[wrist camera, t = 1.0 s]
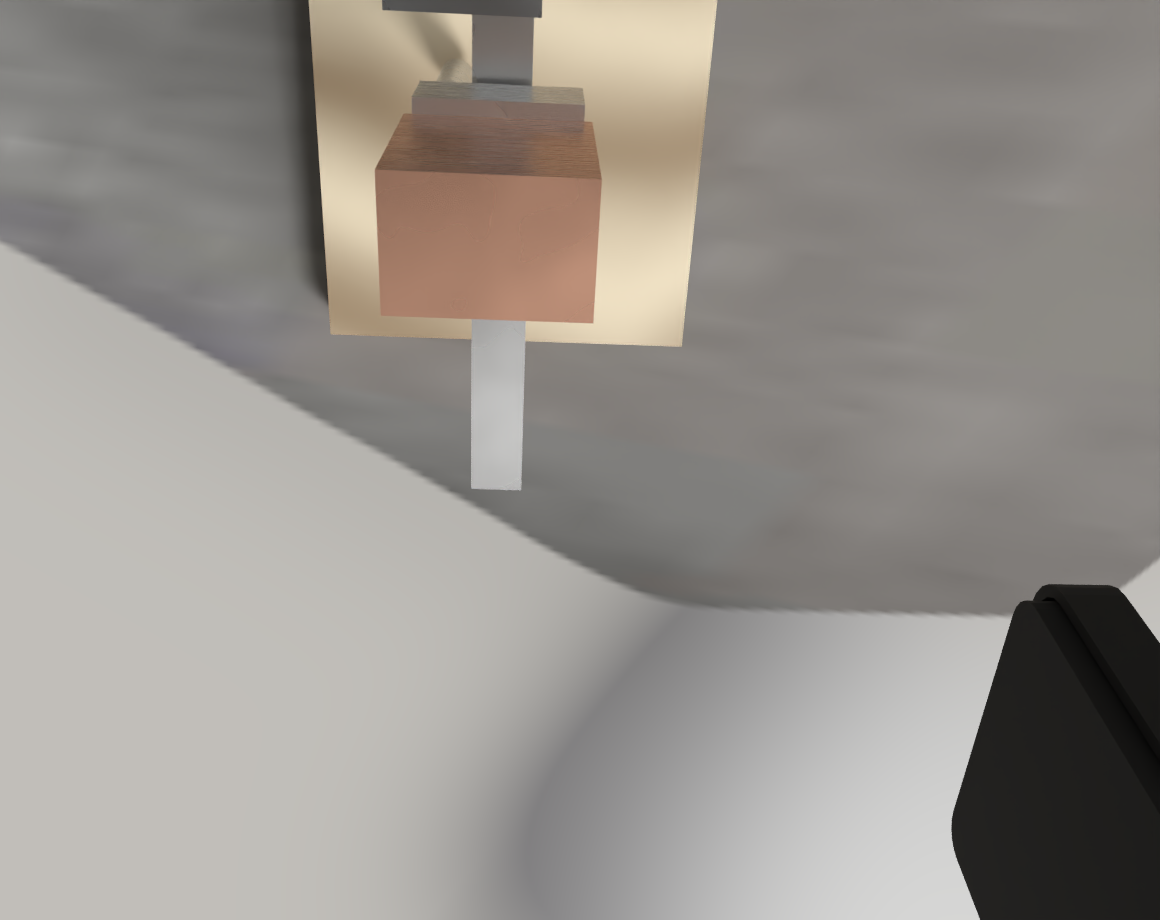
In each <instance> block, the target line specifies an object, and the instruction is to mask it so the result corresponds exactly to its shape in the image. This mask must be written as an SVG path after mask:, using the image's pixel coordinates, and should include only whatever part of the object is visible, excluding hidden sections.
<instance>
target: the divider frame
mask: <svg viewBox="0 0 1160 920" xmlns="http://www.w3.org/2000/svg"><path fill="white" fill-rule="evenodd" d="M382 10H390V11H411V12H431V13H451V14H471V15H472V83H485V84H506V85H528V86H532V83H533V47H534V18H542V0H382ZM525 336H526V321H510V320H482V319H472V381H471V489H500V490H521V477H522V444H523V408H524V372H525Z"/></svg>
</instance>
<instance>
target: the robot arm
mask: <svg viewBox="0 0 1160 920" xmlns="http://www.w3.org/2000/svg"><path fill="white" fill-rule="evenodd" d="M952 841H953V847H954V851H955V854H956V858H957V861H958V863H959V866H960V868H961V871H962V874H963V876H964V879H965V881H966V884H967V887H968V889H969V891H970V894H971V897H972V899H973V902H974V905H975V907H976V910H977V912H978V915H979V918H980V920H1160V643H1159V642H1158V640H1157V639H1156V637H1155V636H1154V635H1153V633H1152V632H1151V630H1150V629H1149V628H1148V626H1147V625H1146V624H1145V622H1144V621H1143V619H1142V618H1141V617H1140V615H1139V614H1138V613H1137V611H1136V610H1135V609H1134V607H1133V606H1132V604H1131V603H1130V602H1129V600H1128V599H1127V597H1126V596H1125V595H1124V594H1123V593H1122V592H1121V591H1120V590H1119V589H1118V588H1116V587H1113V586H1110V585H1062V584H1049V585H1045V586H1042V587H1041V588H1040V589H1039V591H1038V592H1037V593H1036V595H1035V597H1034V599H1033V601H1023V602H1020V603H1019V604H1018V606H1017V607H1016V609H1015V611H1014V614H1013V616H1012V620H1011V623H1010V627H1009V630H1008V633H1007V636H1006V640H1005V643H1004V646H1003V649H1002V653H1001V656H1000V660H999V663H998V666H997V670H996V673H995V676H994V679H993V682H992V686H991V689H990V692H989V696H988V699H987V702H986V706H985V709H984V712H983V716H982V719H981V722H980V726H979V729H978V732H977V735H976V739H975V742H974V745H973V749H972V752H971V755H970V759H969V762H968V765H967V768H966V772H965V775H964V778H963V782H962V785H961V789H960V792H959V795H958V798H957V802H956V805H955V808H954V811H953V816H952Z"/></svg>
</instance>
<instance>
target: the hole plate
mask: <svg viewBox="0 0 1160 920" xmlns="http://www.w3.org/2000/svg"><path fill="white" fill-rule="evenodd" d="M716 7H717V0H542V18H534V47H533V83H532V86H549V87H571V88H583V94H584V101H585V118H584V122H592V123H593V129H594V135H595V141H596V147H597V153H598V159H599V165H600V170H601V176H602V187H601V204H600V221H599V238H598V254H597V271H596V288H595V304H594V321H593V323H565V322H537V321H526V336H525V341H537V342H565V343H594V344H622V345H651V346H679V347H681V346H682V336H683V327H684V317H685V307H686V298H687V288H688V278H689V269H690V259H691V249H692V239H693V230H694V220H695V210H696V201H697V191H698V181H699V172H700V162H701V152H702V143H703V133H704V123H705V113H706V104H707V94H708V84H709V75H710V65H711V55H712V46H713V36H714V26H715V17H716ZM309 13H310V28H311V43H312V58H313V74H314V89H315V104H316V119H317V134H318V149H319V165H320V180H321V195H322V210H323V225H324V241H325V256H326V271H327V286H328V301H329V316H330V332H331V334H338V335H366V336H395V337H423V338H452V339H472V319H454V318H426V317H399V316H381V312H380V288H379V264H378V240H377V216H376V192H375V168H376V166H377V164H378V162H379V160H380V158H381V156H382V154H383V153H384V151H385V149H386V147H387V145H388V143H389V141H390V139H391V137H392V135H393V133H394V131H395V129H396V127H397V125H398V124H399V122H400V120H401V118H402V116H403V114H404V113H406V114H412V95H413V93H414V91H415V89H416V87H417V86H418V84H419V82H420V81H436V80H437V78H438V76H439V74H440V72H441V69H442V67H443V65H444V64H445V63H446V62H447V61H449V60H451V59H462V60H464V61H466V62H467V63H468V64H469V65H470V66H471V68H472V15H471V14H451V13H431V12H411V11H390V10H382V0H309Z"/></svg>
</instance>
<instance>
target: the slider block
mask: <svg viewBox="0 0 1160 920" xmlns="http://www.w3.org/2000/svg"><path fill="white" fill-rule="evenodd" d="M584 118H585V101H584V94H583V88H571V87H549V86H528V85H506V84H485V83H472V68H471V66H470V65H469V64H468V63H467V62H466V61H464V60H462V59H451V60H449V61H447V62H446V63H445V64H444V65H443V67H442V69H441V72H440V74H439V76H438V78H437V80H436V81H420V82H419V84H418V86H417V87H416V89H415V91H414V93H413V95H412V114H406V113H404V114H403V116H402V118H401V120H400V122H399V124H398V125H397V127H396V129H395V131H394V133H393V135H392V137H391V139H390V141H389V143H388V145H387V147H386V149H385V151H384V153H383V154H382V156H381V158H380V160H379V162H378V164H377V166H376V168H375V192H376V216H377V240H378V264H379V288H380V312H381V316H399V317H426V318H454V319H482V320H510V321H537V322H565V323H593V321H594V304H595V288H596V271H597V254H598V238H599V221H600V204H601V187H602V176H601V170H600V165H599V159H598V153H597V147H596V141H595V135H594V129H593V123H592V122H584Z"/></svg>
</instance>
